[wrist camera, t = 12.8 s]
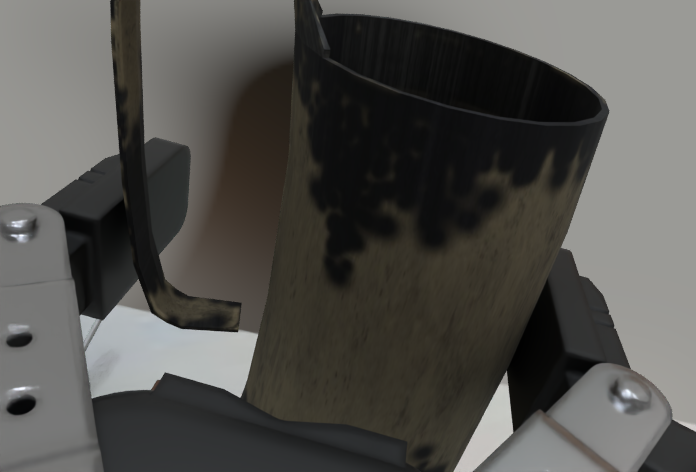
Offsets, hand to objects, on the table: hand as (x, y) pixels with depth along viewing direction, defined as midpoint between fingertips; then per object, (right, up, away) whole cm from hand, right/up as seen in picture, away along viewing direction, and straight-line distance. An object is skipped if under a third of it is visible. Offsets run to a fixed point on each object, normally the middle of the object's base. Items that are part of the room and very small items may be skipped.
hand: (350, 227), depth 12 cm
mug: (-2, -6, +2) cm, 7 cm away
